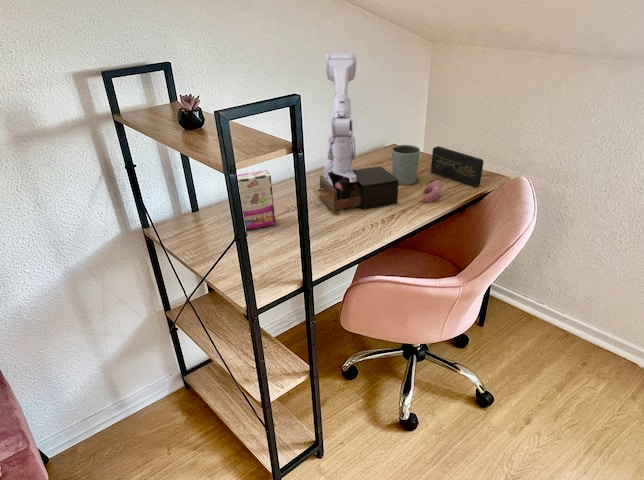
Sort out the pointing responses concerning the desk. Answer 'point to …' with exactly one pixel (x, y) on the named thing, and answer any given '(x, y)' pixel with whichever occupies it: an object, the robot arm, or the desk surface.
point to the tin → (338, 191)
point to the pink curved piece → (432, 191)
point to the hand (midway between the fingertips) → (342, 195)
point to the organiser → (376, 187)
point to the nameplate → (457, 166)
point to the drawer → (330, 196)
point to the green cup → (405, 163)
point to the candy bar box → (257, 199)
